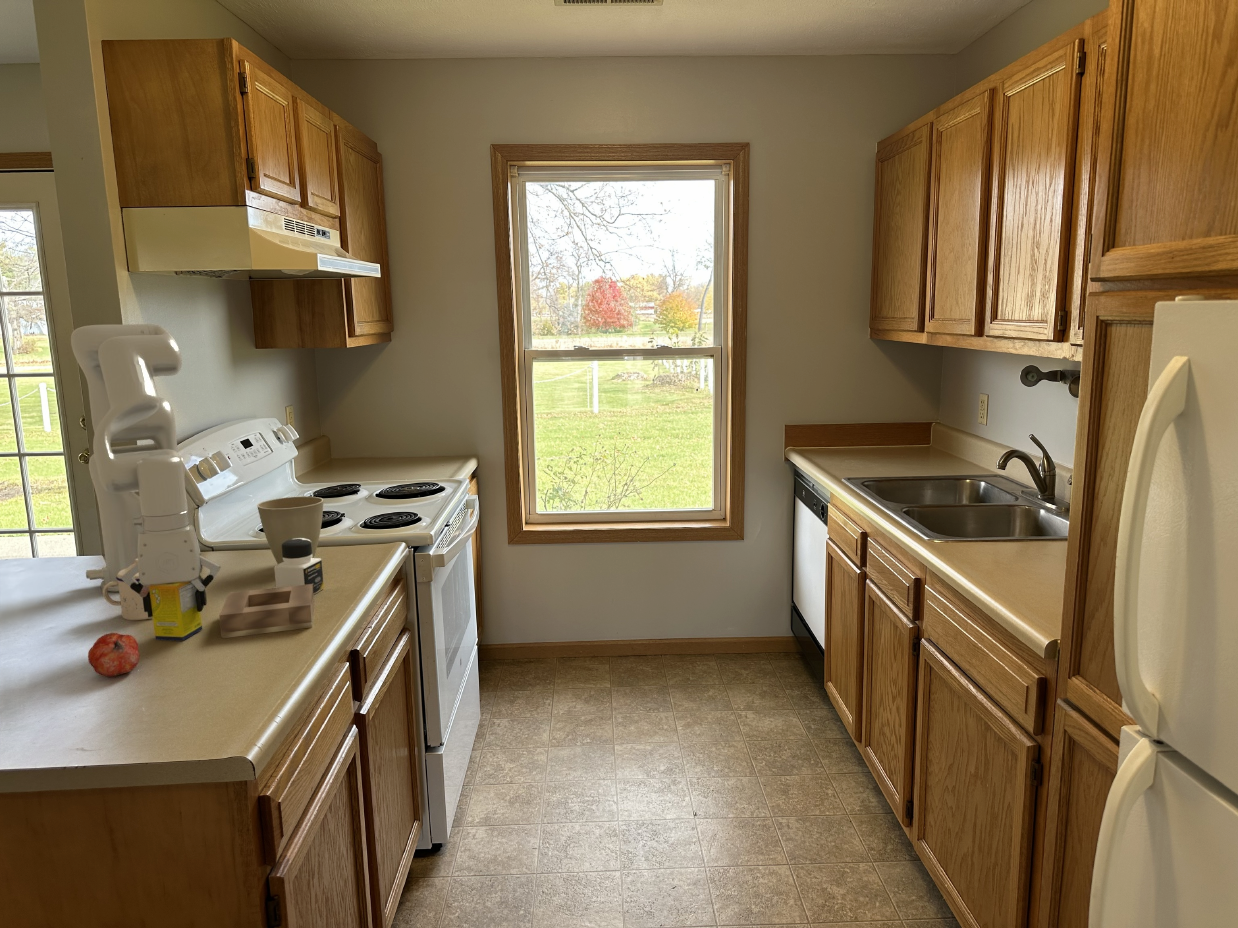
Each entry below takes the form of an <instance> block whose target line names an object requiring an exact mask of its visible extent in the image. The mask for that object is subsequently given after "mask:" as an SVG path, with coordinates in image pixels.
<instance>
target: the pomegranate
mask: <svg viewBox="0 0 1238 928" xmlns="http://www.w3.org/2000/svg"><path fill="white" fill-rule="evenodd" d="M138 643H139V642H138V641H137V640H136V638H135V637H134V636H132V635H131V634H130V635H129V634H123V633H122V634H121V633H118V632H109V633H105V634H103V635H101V636H100V637H98V638H97V640H96V641H95V642H94V643H93V645H92V646H91V647H90V648H89V649H88V653H87V658H88V659H87V660H88V664H89V665H90V666H91V667H92V668H93V671H94V672H95V673H96V674H97V675H100V676H103V677H108V678H111V677H115V676H119V675H122V674H123V675H124V674H127V673H130V672H132V671H133V670H134V669H135V668H136V667H137V665H138V663H139V661H140V651H139V645H138Z"/></svg>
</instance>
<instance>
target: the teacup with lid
mask: <svg viewBox="0 0 1238 928" xmlns="http://www.w3.org/2000/svg"><path fill="white" fill-rule="evenodd" d="M137 564H138V559H136V560H135V564H133V565H131V566H129V567H128V568H127V569H124V570H122V571H120V572H119V573H118V574H117V577H116V579H117V580H118V581H114V582H110V583H108V584H107V585H105V586H104V588H103V589H102V596H103V598H104V600H105V601H106V602H107V603H108V604H110V605H112V606H117V607H118V606H120V608H121V614H122V617H123V618H124V620H128V621H144V620H146V621H147V620H151V619H153V616H152V617H149V618H148V613H147V612H144V606H143V598H142V597H141V596H140V594H138V593H137V592H135V591H134V590H132V589H131V588H130V586H129V585H127V584H126V583H125V582H124V581H123V580H122V576H123V575H124V574H125V573H126V572H128V571H129V570H130V569H132V568H133V567H134V566H135V565H137ZM133 577H134V579H135V580H136V581H138V582H139V583H141V582H140V579H139V572H138V573H137V574H136V575H134V576H133ZM141 584H142V583H141ZM114 585H119V591H118V593H119V598H120V599H119V600H120V601H119V600H115V599H113V598H112V597H111V596H110V595H109V593H108V592H109V591H107V590H108V587H110V586H114ZM142 585H143V584H142Z"/></svg>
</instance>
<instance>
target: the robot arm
mask: <svg viewBox="0 0 1238 928" xmlns="http://www.w3.org/2000/svg"><path fill="white" fill-rule="evenodd" d="M70 343H71V344H70V345H71V349H72V352H73V355H74V357H75V360H76V362H77V363H78V365H79V366H80V368H81V370H82V372H83V374H84V376H85V379H86V381H87V387H88V397H89V398H88V399H89V407H90V415H91V422H92V423H91V424H92V428H93V432H94V436H93V442H92V443H93V445H92V448H93V454H92V455H91V456H90V457H89V461H88V470H89V475H90V477H91V481H92V484H93V488H94V490H95V491H94V492H95V495H96V499H97V504H98V511H99V518H100V519H99V520H100V525H101V533H102V543H103V550H104V551H103V552H104V558H105V564H106V566H104V567H102V568H101V569H87V570H86V571H85V577H86V579H89V581H93V580H100V579H101V580H102V581H101V582H100V588H101V590H103V588H104V586H105V585H107V584H108V583H110V582H114V581H118V580H117V579H116V577H117V574H118V573H119V572H120V571H122V570H124V569H127V568H128V567H129V566H131V565H133V564H135V560H136V559H138V564H137V565H135V566H134V567H133V568H132V569H130V570H129V571H128V572H126V573H125V574H124V575H123V576H122V580H123V581H124V582H125V583H126V584H127V585H129V586H130V588H131V589H132V590H134V591H135V592H137V593H138V594H140V596H141V597H142V598H143V606H144V612H147V613H148V618H149V617H152V616H153V615H152V607H151V599H150V591H149V585H162V584H172V583H181V582H189V581H191V582H192V583H193V584H194V585H195V587H196V588H197V590H196V592H195V595H196V604H197V611H198V612H200V613H201V612H203V609H204V607H205V606H207V603H208V601H207V593H206V588H207V587H208V586H209V585H210V584H211V583H212V582H213V580H214V578H216V576H217V575H218V572H219V571H220V570H221V565H220V564H218V563H216V562H214V561H212V560H210V559H208V558H206V557H204V556H202V555H201V554H202V553H201V550H200V545H199V544H200V543H199V540H198V537H197V533H196V530H195V527H194V525H192V524H190V519H189V518H190V517H189V510H188V501H187V490H186V482H185V475H186V465H185V461H184V460H185V459H184V458H183V456H181V455H180V454H179V453H178V452H179V451H178V441H177V430H176V420H175V414H174V410H173V407H172V406H171V404H170V402H169V401H168V400H167V399H165V398H163V397H160V396H159V393H158V390H157V386H156V383H155V379H154V378H155V377H169V376H170V377H172V376H176V375H178V374H179V373H180V371H181V368H182V365H183V364H182V361H183V359H182V352H181V350H180V347H179V344H178V343H177V341H176V340H175V338H174V337H173V336H172V335H171V334H170V332H169V331H167V330H166V329H165V328H164V327H163V326H161V325H159V324H151V323H150V324H148V323H147V324H143V323H142V324H139V323H137V324H136V323H135V324H120V323H119V324H92V325H90V324H89V325H84V326H81V327H78V328H76V329H74V330H73V331H72V333H71V336H70ZM147 440H151V441H153V443H147V444H145V443H144V444H137V445H124V446H113V447H111V443H125V442H135V441H147ZM137 492H138V493H139V494H136V493H137ZM203 567H204V568H206V569H208V570H209V573H208V574H207V575H206V576H205V577H202V575H201V574H202V572H203ZM138 572H139V579H140V582H141V583H142V584H143V585H142V584H141V583H139V582H138V581H136V580H135V579H134V577H133V576H134V575H136V574H137V573H138ZM107 591H108V592H119V585H114V586H110V587H108V590H107Z"/></svg>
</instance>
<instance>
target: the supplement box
mask: <svg viewBox="0 0 1238 928" xmlns="http://www.w3.org/2000/svg"><path fill="white" fill-rule="evenodd" d="M196 590H197V588H196V587H195V585H194V584H193V583H192V582H191V581H189V582H181V583H172V584H162V585H149V591H150V599H151V607H152V615H153V618H152V622H153V629H154V637H155V641H174V640H176V642H177V641H181V642H184V641H185V640H187V639H188V638H190V637H192V636H193V635H195V634H197V633H198V632H200V631H202V630H203V621H202V615H201V612H198V611H197V604H196V595H195V592H196Z"/></svg>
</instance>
